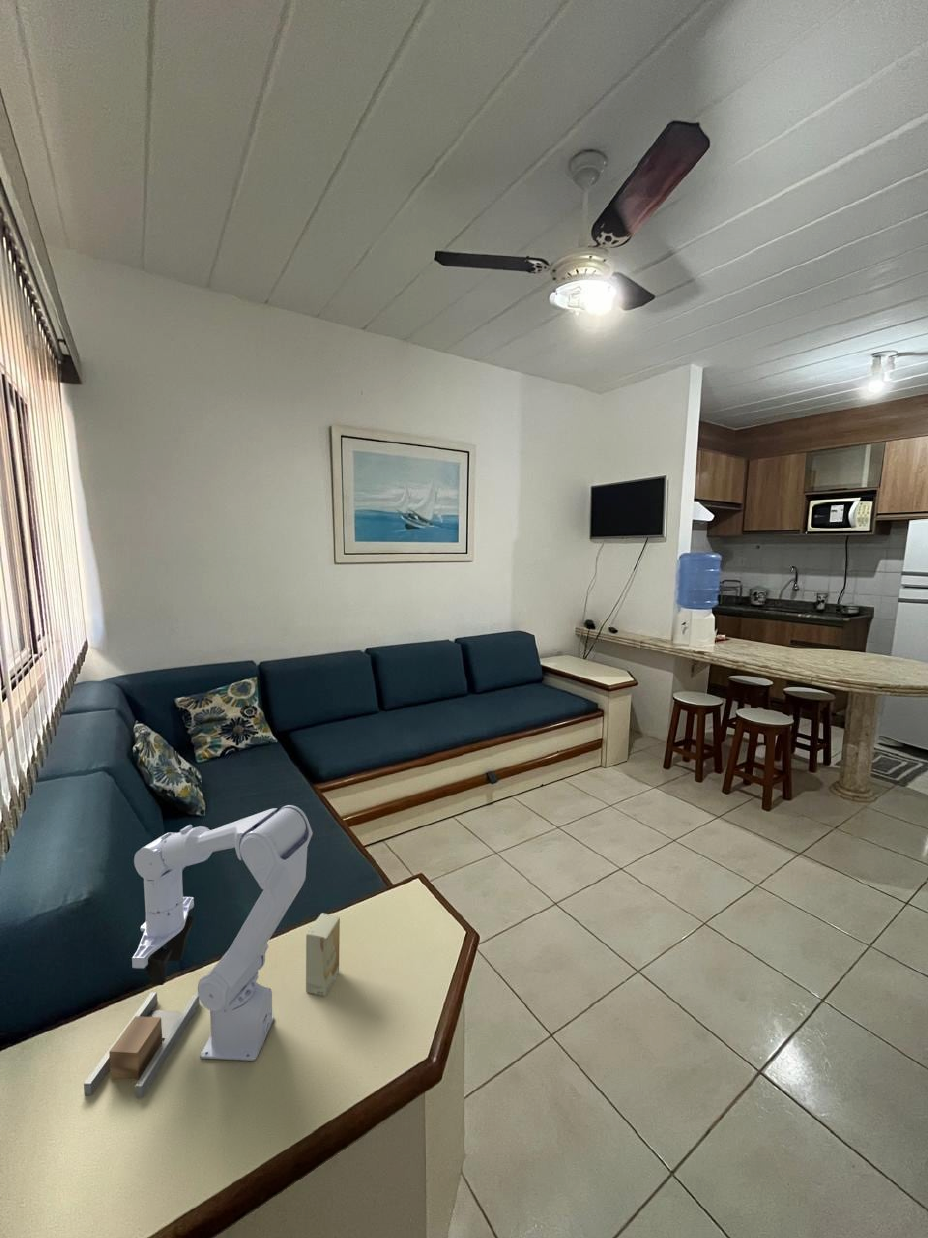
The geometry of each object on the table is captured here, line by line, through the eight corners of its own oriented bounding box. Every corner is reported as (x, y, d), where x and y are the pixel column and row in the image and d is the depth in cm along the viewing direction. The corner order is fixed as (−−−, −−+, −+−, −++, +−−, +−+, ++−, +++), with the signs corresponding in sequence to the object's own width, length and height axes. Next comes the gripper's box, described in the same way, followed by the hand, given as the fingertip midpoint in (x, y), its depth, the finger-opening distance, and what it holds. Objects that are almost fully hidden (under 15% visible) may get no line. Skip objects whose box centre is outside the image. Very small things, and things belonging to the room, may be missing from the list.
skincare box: (325, 997, 93) (325, 940, 92) (305, 993, 94) (304, 935, 92) (340, 970, 99) (340, 915, 98) (321, 966, 100) (321, 911, 99)
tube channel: (199, 1003, 91) (199, 994, 91) (142, 1097, 75) (141, 1086, 75) (152, 1001, 91) (151, 991, 91) (84, 1094, 75) (83, 1083, 75)
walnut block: (162, 1043, 84) (161, 1017, 83) (138, 1080, 78) (137, 1053, 77) (136, 1042, 84) (135, 1016, 83) (110, 1079, 78) (109, 1051, 77)
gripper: (167, 875, 94) (170, 939, 95) (112, 932, 79) (116, 1006, 81) (203, 876, 93) (205, 940, 95) (154, 934, 79) (158, 1008, 81)
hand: (167, 971), depth 88 cm, fingers open, 4 cm apart
